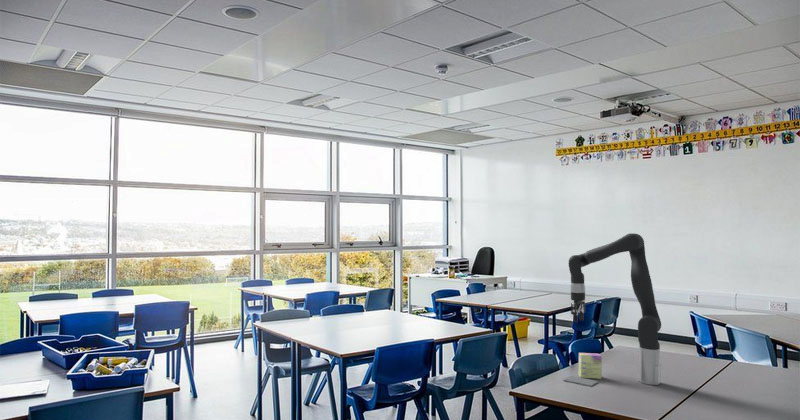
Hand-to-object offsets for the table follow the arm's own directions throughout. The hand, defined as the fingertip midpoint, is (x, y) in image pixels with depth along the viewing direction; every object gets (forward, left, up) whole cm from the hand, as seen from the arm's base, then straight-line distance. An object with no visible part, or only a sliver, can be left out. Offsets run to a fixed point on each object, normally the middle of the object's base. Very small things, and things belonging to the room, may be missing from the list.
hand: (578, 321), depth 293 cm
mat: (-11, +24, -26) cm, 37 cm away
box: (-11, +12, -26) cm, 31 cm away
